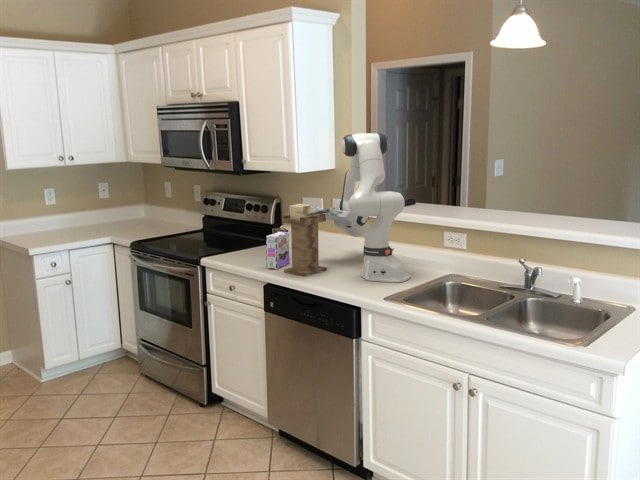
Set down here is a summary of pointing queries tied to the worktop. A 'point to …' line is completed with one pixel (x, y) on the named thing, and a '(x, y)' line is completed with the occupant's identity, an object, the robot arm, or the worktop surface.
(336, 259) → the worktop surface
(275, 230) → the coffee box
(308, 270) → the walnut stand
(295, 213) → the beech block
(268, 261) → the candy box
